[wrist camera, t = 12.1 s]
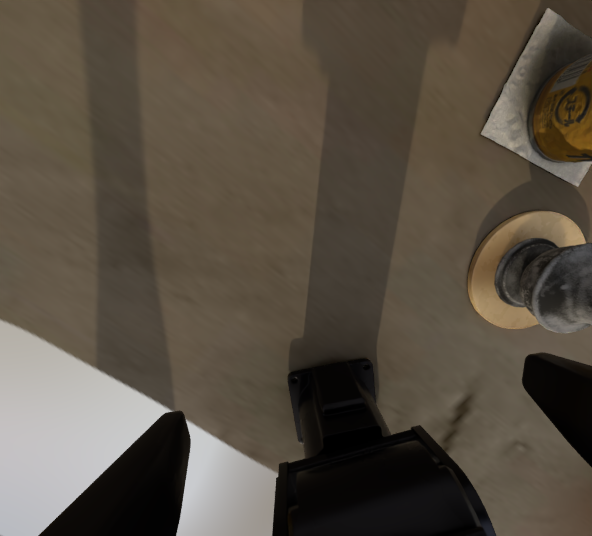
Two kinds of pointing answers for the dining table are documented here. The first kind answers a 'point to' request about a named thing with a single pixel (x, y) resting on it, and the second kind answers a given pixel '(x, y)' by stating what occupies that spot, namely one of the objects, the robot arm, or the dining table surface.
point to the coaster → (498, 245)
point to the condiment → (549, 101)
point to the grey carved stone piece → (548, 283)
